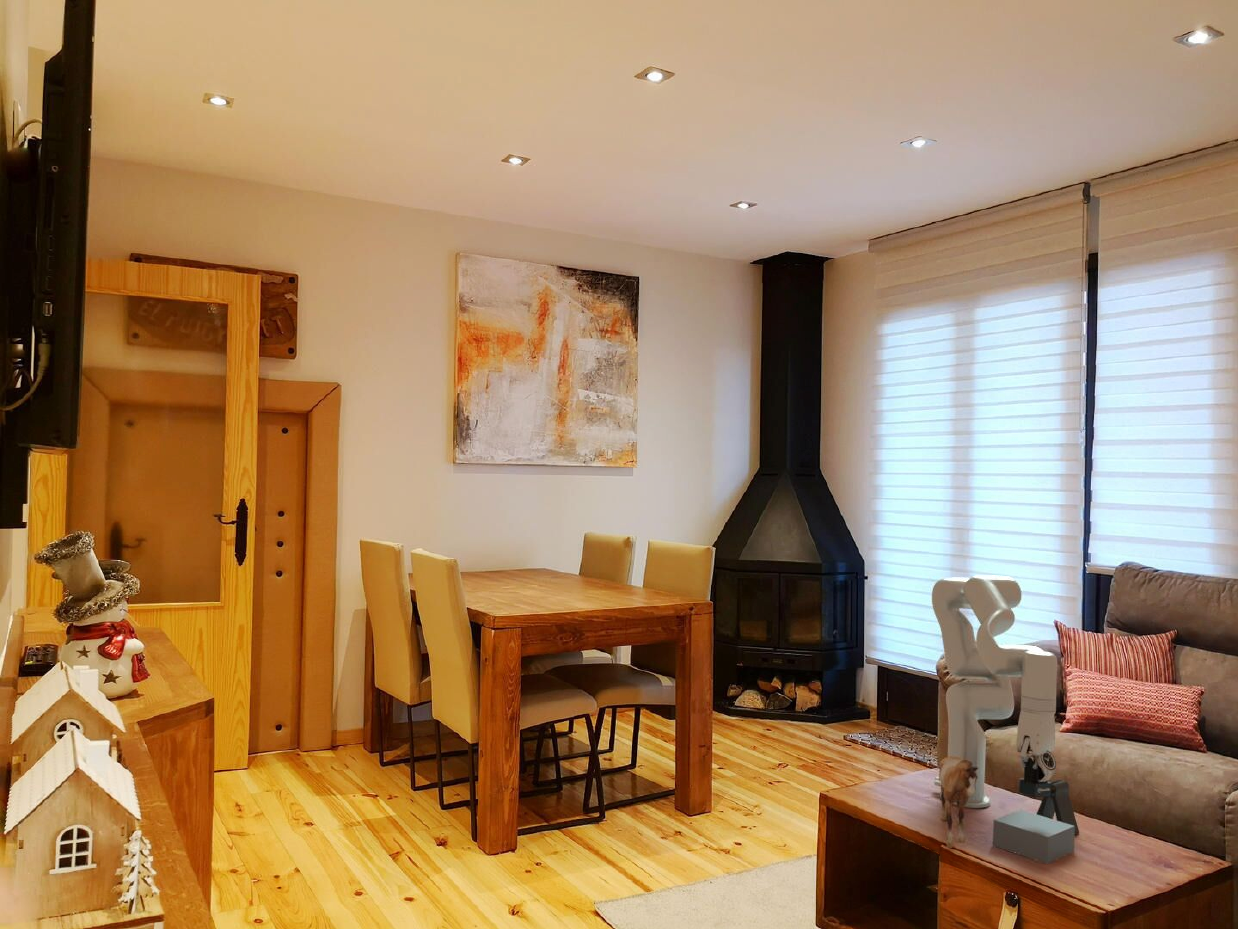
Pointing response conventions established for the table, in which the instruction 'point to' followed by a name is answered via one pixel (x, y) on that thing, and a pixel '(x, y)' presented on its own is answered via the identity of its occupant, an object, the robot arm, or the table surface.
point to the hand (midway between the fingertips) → (1035, 782)
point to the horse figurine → (956, 790)
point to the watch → (1042, 787)
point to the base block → (1033, 836)
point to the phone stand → (1058, 805)
